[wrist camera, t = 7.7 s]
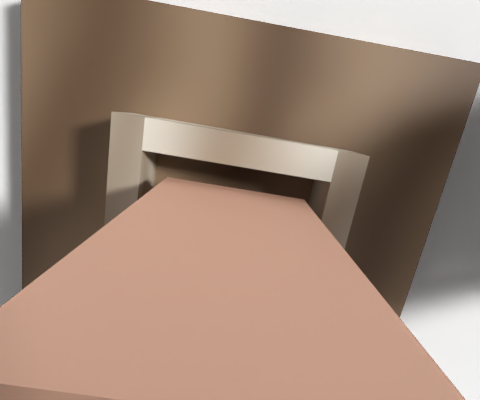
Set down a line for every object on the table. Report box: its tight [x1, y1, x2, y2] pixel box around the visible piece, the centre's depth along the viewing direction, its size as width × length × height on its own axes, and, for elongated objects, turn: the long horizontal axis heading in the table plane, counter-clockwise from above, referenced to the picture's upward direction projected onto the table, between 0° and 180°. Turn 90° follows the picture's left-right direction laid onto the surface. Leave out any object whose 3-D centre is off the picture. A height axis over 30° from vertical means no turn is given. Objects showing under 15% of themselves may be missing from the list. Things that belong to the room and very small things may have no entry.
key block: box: [0, 177, 465, 400], centre depth 7 cm, size 7×4×8 cm, turn 171°
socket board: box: [21, 0, 480, 318], centre depth 12 cm, size 16×18×4 cm
